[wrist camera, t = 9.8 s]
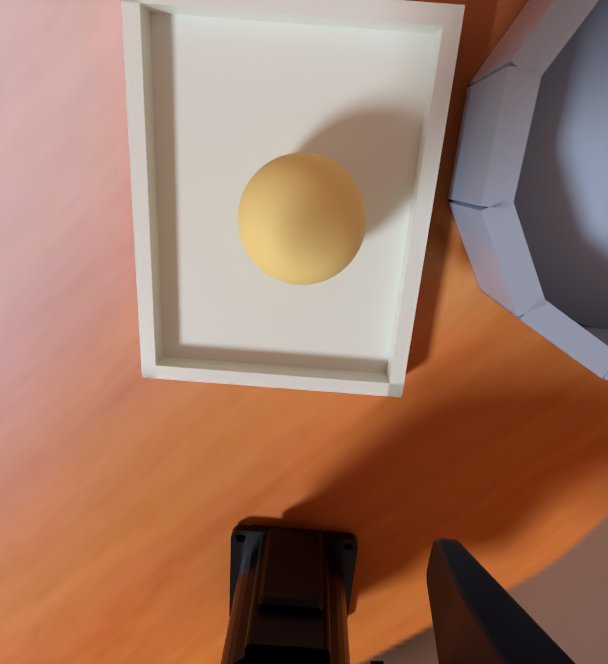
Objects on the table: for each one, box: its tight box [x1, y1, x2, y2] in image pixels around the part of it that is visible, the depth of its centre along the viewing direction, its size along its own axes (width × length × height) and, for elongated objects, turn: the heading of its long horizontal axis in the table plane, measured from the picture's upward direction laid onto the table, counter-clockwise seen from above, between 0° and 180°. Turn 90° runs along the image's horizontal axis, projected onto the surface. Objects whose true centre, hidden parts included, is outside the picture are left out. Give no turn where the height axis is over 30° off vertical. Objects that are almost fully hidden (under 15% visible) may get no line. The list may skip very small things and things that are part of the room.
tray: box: [121, 0, 465, 397], centre depth 18 cm, size 14×11×2 cm
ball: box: [238, 152, 367, 285], centre depth 16 cm, size 4×4×4 cm
